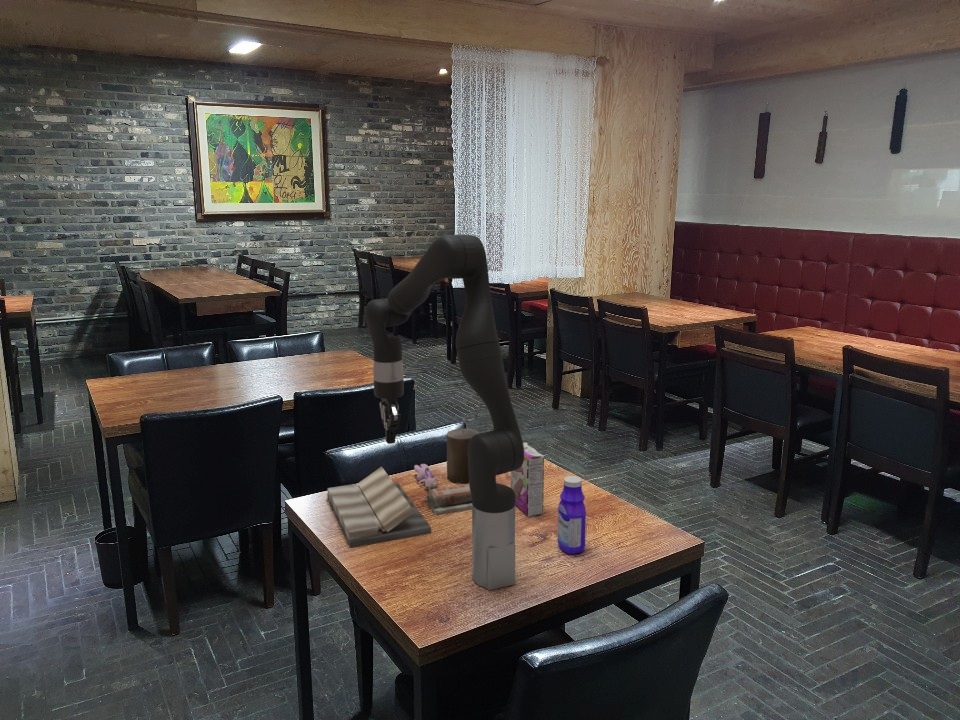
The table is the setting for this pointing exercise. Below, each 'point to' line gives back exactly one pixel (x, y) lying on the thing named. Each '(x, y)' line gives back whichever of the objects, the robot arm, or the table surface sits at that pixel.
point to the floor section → (370, 518)
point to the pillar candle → (458, 454)
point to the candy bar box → (529, 482)
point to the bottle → (572, 516)
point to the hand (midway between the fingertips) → (390, 442)
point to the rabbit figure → (426, 476)
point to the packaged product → (450, 499)
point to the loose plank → (385, 499)
